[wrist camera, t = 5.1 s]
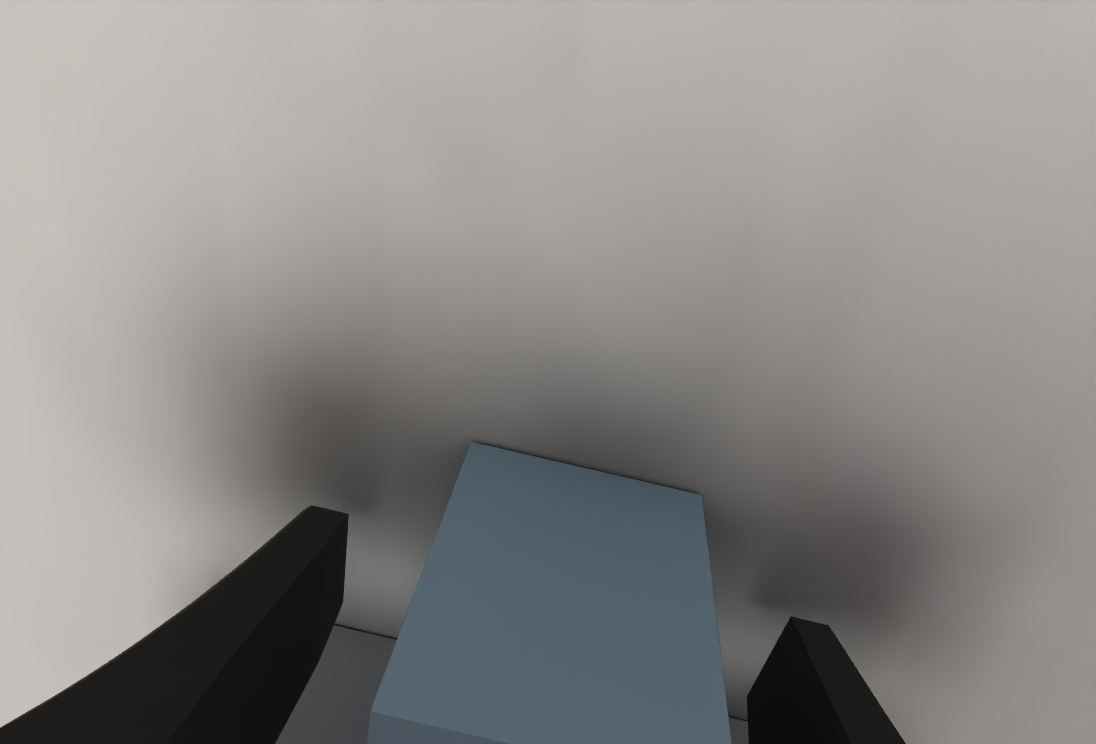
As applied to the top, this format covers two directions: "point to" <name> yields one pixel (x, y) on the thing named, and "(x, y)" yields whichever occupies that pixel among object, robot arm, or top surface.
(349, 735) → the housing
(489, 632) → the block
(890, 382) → the top surface
